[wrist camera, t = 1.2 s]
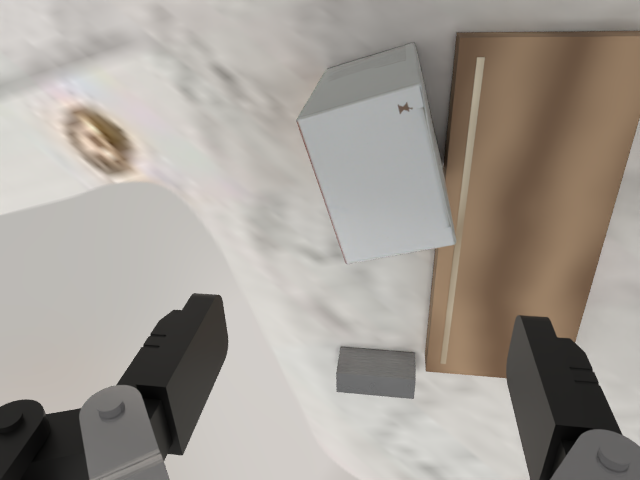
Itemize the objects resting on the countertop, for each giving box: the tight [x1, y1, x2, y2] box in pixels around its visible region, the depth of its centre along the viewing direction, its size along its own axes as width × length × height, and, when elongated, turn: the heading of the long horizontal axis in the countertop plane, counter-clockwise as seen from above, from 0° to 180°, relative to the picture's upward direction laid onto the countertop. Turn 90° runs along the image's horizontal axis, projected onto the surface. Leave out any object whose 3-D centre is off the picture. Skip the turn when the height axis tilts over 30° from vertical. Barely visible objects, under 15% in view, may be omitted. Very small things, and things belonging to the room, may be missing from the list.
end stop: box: [336, 347, 415, 399], centre depth 40 cm, size 6×2×3 cm, turn 92°
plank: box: [425, 31, 640, 378], centre depth 33 cm, size 10×24×2 cm, turn 2°
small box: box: [297, 43, 456, 264], centre depth 27 cm, size 8×6×10 cm
